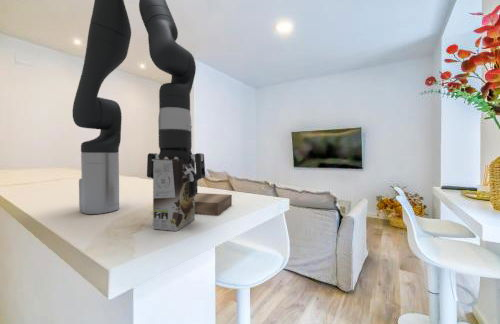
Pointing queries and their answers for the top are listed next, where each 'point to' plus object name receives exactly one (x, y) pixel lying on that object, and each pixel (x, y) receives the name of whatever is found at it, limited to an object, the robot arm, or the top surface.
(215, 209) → the walnut block
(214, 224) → the top surface
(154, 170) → the coffee box
